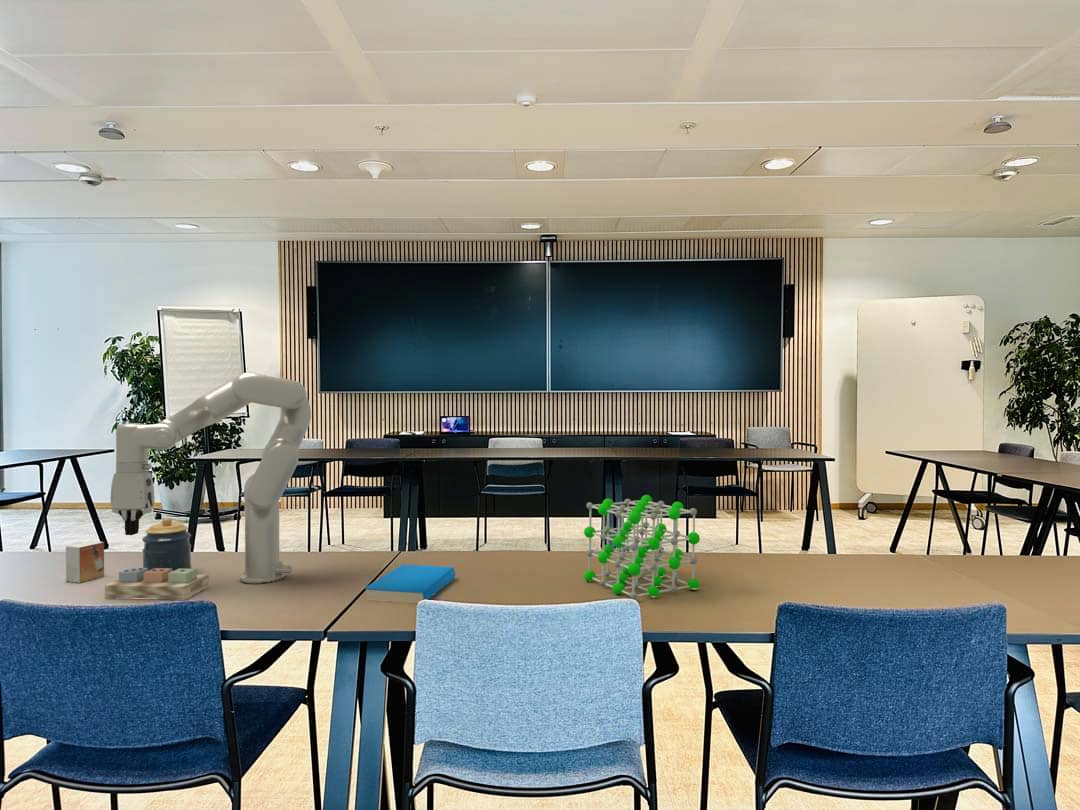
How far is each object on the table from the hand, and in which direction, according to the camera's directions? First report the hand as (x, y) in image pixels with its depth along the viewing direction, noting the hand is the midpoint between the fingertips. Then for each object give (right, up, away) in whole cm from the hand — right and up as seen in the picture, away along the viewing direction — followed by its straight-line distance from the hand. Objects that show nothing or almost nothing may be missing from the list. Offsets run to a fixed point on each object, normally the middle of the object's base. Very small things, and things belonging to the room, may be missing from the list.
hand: (131, 534), depth 188 cm
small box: (-22, -16, +14) cm, 31 cm away
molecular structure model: (+142, -17, +8) cm, 143 cm away
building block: (0, -13, 0) cm, 13 cm away
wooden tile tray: (+7, -16, 0) cm, 18 cm away
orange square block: (+7, -13, 0) cm, 15 cm away
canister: (0, -16, +18) cm, 24 cm away
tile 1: (+14, -13, 0) cm, 19 cm away
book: (+77, -17, +4) cm, 79 cm away
